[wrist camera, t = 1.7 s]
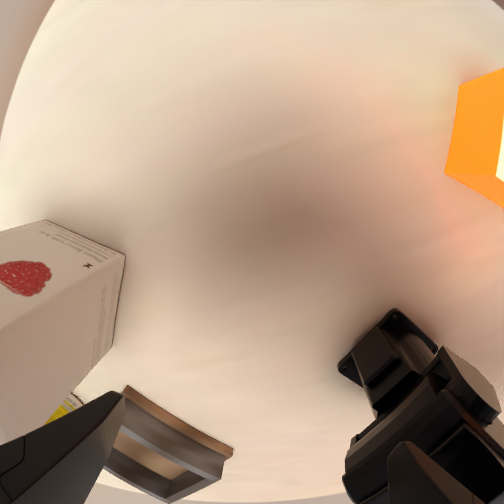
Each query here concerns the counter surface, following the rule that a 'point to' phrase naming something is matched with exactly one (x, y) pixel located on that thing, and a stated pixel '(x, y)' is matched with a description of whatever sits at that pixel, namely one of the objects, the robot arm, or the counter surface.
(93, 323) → the supplement box
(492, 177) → the orange juice
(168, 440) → the tray
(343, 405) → the counter surface
